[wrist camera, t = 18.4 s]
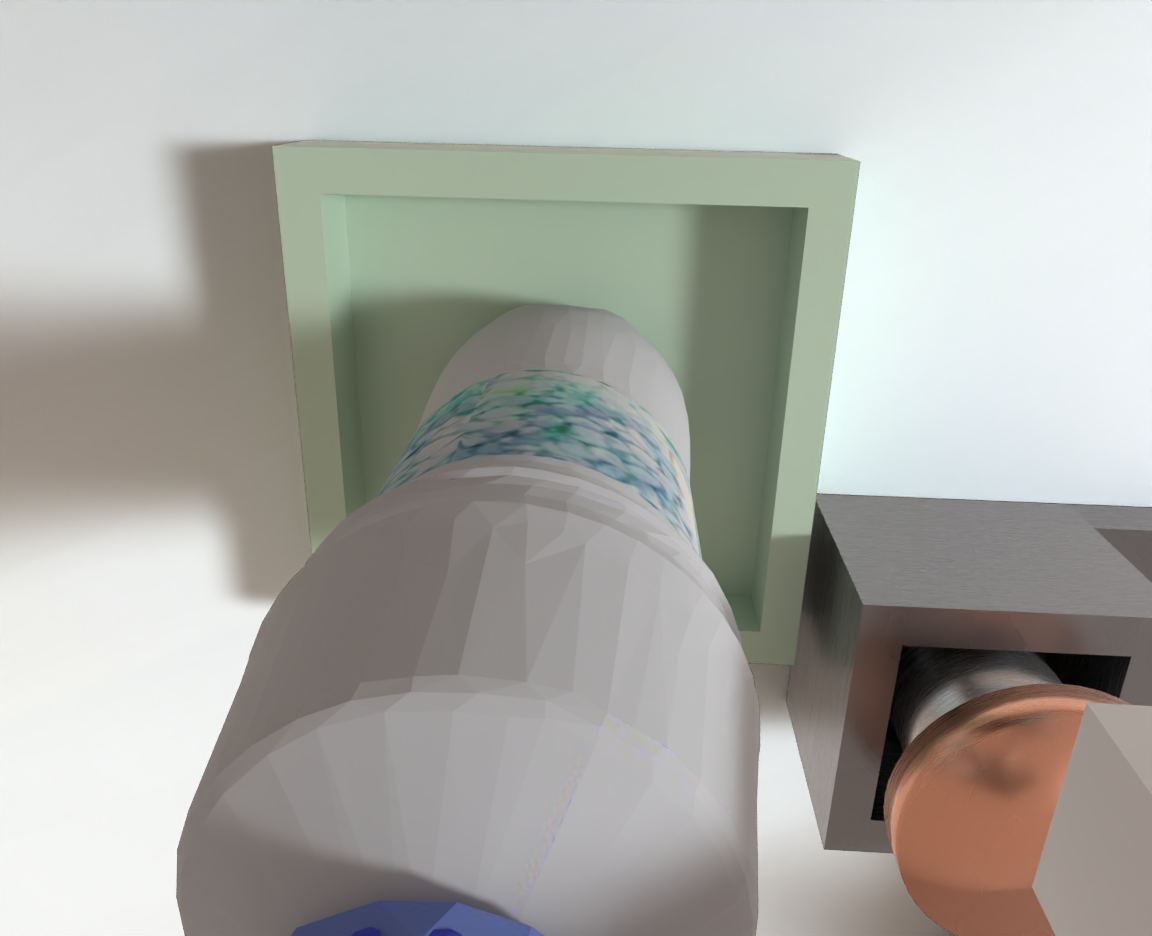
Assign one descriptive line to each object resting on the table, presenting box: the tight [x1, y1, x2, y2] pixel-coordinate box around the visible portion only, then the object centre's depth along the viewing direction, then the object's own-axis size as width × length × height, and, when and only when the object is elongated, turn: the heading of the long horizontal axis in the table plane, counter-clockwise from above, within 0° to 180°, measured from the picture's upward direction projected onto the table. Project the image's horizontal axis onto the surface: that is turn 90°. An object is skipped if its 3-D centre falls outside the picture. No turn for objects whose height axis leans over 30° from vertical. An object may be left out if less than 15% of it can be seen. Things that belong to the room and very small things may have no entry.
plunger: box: [883, 646, 1130, 936], centre depth 22 cm, size 6×6×8 cm
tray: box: [272, 140, 860, 665], centre depth 24 cm, size 13×13×2 cm
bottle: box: [176, 304, 760, 936], centre depth 15 cm, size 7×7×20 cm
